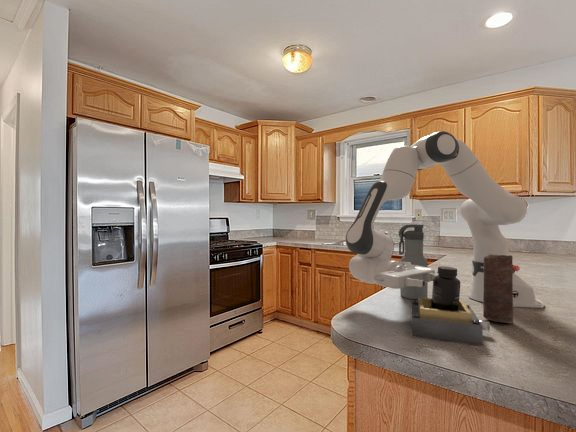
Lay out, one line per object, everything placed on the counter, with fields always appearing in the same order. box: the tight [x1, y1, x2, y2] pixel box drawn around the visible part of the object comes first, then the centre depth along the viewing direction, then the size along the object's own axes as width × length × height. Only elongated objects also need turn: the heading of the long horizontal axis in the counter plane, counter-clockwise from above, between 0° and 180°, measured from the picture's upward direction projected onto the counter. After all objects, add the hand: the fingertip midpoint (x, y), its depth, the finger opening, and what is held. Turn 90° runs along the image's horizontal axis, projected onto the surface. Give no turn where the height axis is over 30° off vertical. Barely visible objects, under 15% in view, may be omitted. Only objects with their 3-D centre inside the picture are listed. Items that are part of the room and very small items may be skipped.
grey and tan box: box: [410, 297, 491, 347], centre depth 85 cm, size 19×16×7 cm
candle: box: [482, 254, 514, 324], centre depth 92 cm, size 8×7×20 cm
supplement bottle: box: [431, 265, 461, 311], centre depth 86 cm, size 7×7×12 cm
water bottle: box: [398, 223, 429, 301], centre depth 120 cm, size 10×10×28 cm
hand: (432, 281), depth 88 cm, fingers open, 8 cm apart
